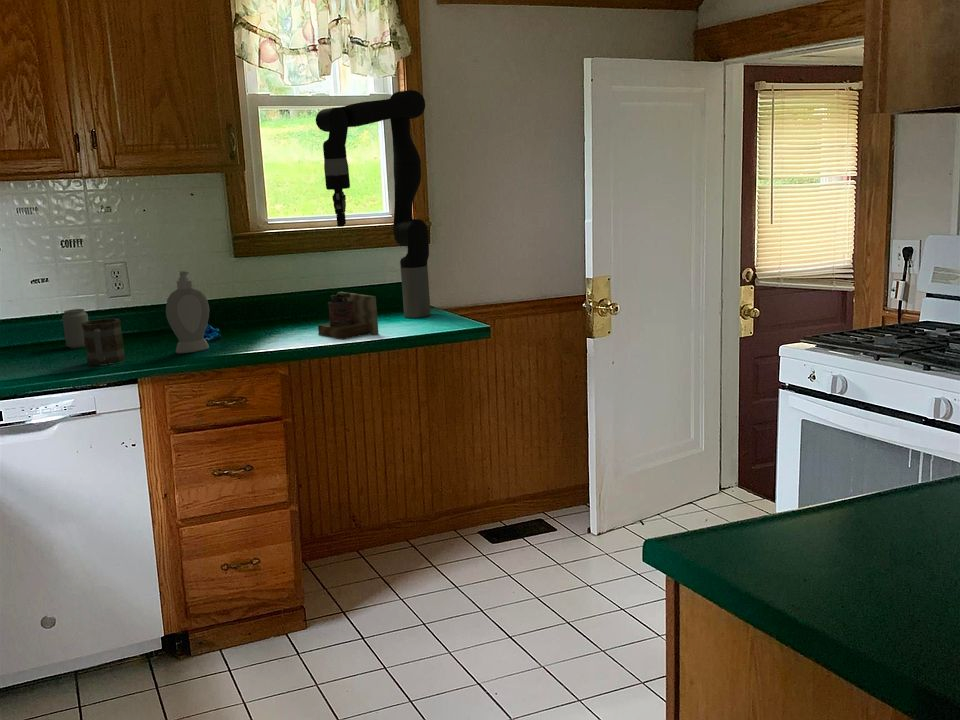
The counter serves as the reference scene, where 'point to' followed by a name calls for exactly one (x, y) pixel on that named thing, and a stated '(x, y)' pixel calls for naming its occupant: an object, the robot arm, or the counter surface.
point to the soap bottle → (188, 315)
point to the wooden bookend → (356, 319)
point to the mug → (103, 341)
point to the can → (74, 327)
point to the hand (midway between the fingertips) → (341, 225)
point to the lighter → (341, 310)
